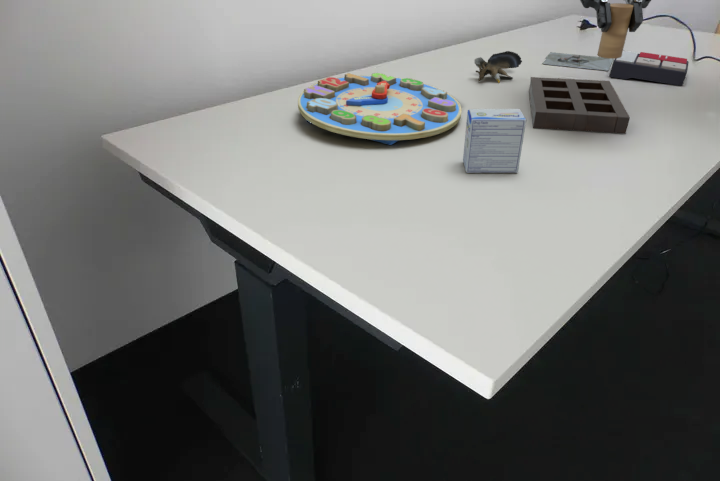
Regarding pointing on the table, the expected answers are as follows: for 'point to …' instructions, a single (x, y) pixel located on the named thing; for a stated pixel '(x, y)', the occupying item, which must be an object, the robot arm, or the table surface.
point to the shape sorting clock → (379, 107)
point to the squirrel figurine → (497, 64)
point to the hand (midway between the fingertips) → (620, 28)
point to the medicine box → (493, 140)
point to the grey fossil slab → (578, 61)
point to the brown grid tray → (576, 105)
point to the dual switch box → (650, 67)
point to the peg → (616, 31)
